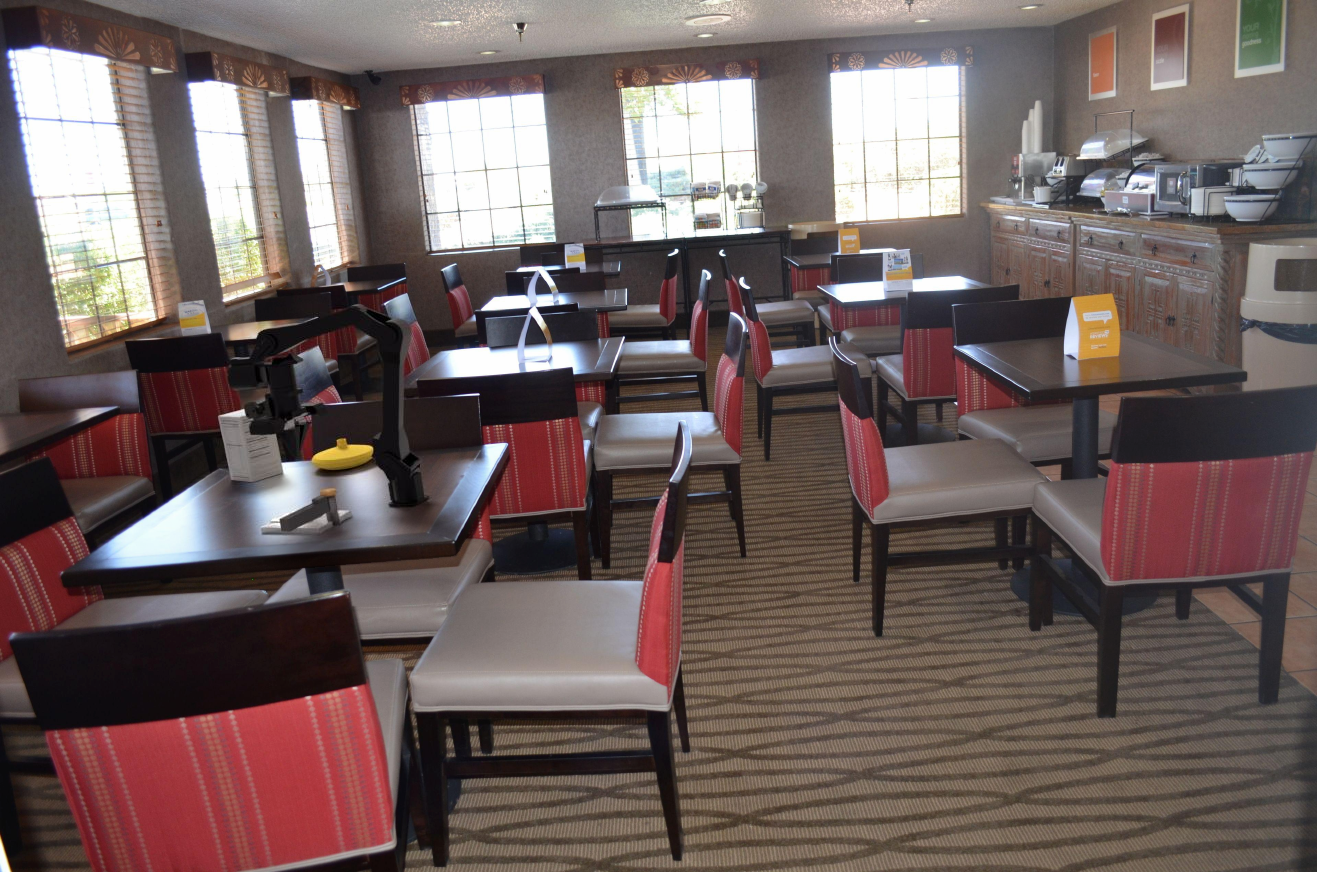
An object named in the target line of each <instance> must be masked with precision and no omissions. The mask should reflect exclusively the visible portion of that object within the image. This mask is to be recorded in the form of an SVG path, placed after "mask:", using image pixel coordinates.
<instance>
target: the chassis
mask: <svg viewBox="0 0 1317 872" xmlns="http://www.w3.org/2000/svg"><path fill="white" fill-rule="evenodd" d="M327 500H328V504H329V510H330V512H328V513H326V514H324V515H322V516H320V517H318V518H316V519H314V520H312V521H310V522H308V523H306V524H304V525H302V526H300V527H298V528H296V529H294V530H292V531H290V532H284V531H281V526H280V521H279V519H280V518H282V517H284V516H286V515H289V514H291V513H293V512H295V511H297V510H298V509H294V510H291V512H288V513H287V512H286V513H283V514H281V515H279V516H277V517H275V518H273V519H272V520H269V522H268V523H266V524H264V525H262V526H260V531H261V534H292V535H293V534H296V535H297V534H302V535H303V534H304V535H305V534H307V535H310V534H311V535H321V534H322V533H324V532H326V531H328V530H330V529H331V528H333V527H337V526H339V525H341V522H343V521H345V520H347V519H349V518H351V517H352V516H353V515H352V510H342V509H340V510H339V509H338V503H337V498H336V494H335V495H333V496H329V497H327Z"/></svg>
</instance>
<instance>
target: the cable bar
mask: <svg viewBox="0 0 1317 872" xmlns="http://www.w3.org/2000/svg"><path fill="white" fill-rule="evenodd" d="M319 494H320V495H318V496H316V497H314V498H312V499H311V503H310V504H307V505H305V506H303V507H301V508H299V509H296V510H297V511H295V512H293V513H291V514H289V515H286V516H284V517H282V518H280V519H279V521H280V526H281V531H284V532H290V531H292V530H294V529H296V528H298V527H300V526H302V525H304V524H306V523H308V522H310V521H312V520H314V519H316V518H318V517H320V516H322V515H324V514H326V513H328V512H330V510H329V504H328V500H327V497H329V496H333V495H335V496H336V495H337V494H338V491H337V488H334V487H333V488H332V487H331V488H326V489H325V488H324V489H322V490H320V491H319Z"/></svg>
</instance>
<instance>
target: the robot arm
mask: <svg viewBox="0 0 1317 872" xmlns="http://www.w3.org/2000/svg"><path fill="white" fill-rule="evenodd" d="M351 326H353V327H356V328H357V329H359V330H360V331H362V333H364V334H365V335H367V336H368V337H370V338H372V339H374V340H375V342H376V346H377V352H378V354H379V357H380V361H381V362H382V391H381V392H382V396H381V397H382V399H381V400H382V401H381V403H382V404H381V409H382V410H381V411H382V416H381V417H382V419H381V431H380V432H379V433H377V434H376V435H375V436H374V437H372V439H371V443H372V447H373V454H372V456H371V457H373V458H374V464H375V466H377V467H378V469H380V471H383V474H384V475H385V477H386V478H387V481H388V483H387V485H388V492H389V499H390V501H391V502H388V506H390V507H395V506H396V507H399V506H401V507H413V506H414V507H415V506H417V505H418V504H420V503H422V502H423V501H425V500H426V499H428V498H429V497H430V495H429V494H425V490H424V484H423V478H422V477H423V476H422V472H421V471H418V470H420V469H421V467H422V461H423V460H422V459H421V457H420V456H417V455H416V454H415V453H414V452H412V451H411V450H410V446H409V437H408V436H407V433H406V430H405V427H404V408H405V407H404V402H405V401H404V400H405V362H406V358H407V355H408V353H409V350H410V345H411V341H412V336H413V335H412V333H413V332H412V327H411V325H410V324H409V323H408V322H407V321H406V320H404V319H402V318H396V317H395V318H392V317H390V316H389V315H386V314H384V313H381V312H379V311H376V310H373V309H372V308H369V307H367V306H365V305H364V304H360V303H357V304H354V305H350V306H348V307H346V308H344V309H342V310H338V311H335V312H332V313H328V314H326V315H323V316H320V317H315V318H313V319H310V320H307V321H303V322H297V323H287V324H281V325H279V324H278V325H274V326H272V327H267V328H265V329H262V330H259V332H257V335H256V338H255V344H256V345H255V346H254V349H253V351H252V353H251V354H250V356H249V357H238V356H237V357H232V358H229V360H228V362H229V366H228V369H227V376H226V379H227V383H228V384H229V385H228V386H229V387H230V388H231V389H232V390H233V391H240V390H241V391H243V390H252V389H263V387H264V386H265V384H266V383H267V386H268V387H267V388H268V390H269V391H268V392H266V393H265V395H264V400H263V401H262V402H259V403H257V402H256V401H253V400H252V401H249V402H246V404H243V406H244V407H243V408H244V410H245V414H246V417H247V418H249V419H251V418H253V420H254V421H251V423H250V424H249V431H250V435H272V434H276V436H279V438H280V439H281V440H282V441H283V443H284V445H285V446H286V449H287V450H288V452H289V453H290V455H291V456H292V457H293V458H295V459H296V458H297V459H298V458H299V457H300V456H301V452H302V450H303V446H304V443H305V439H306V436H307V434H308V431H309V428H310V426H311V425H312V424H313V422H312V421H307V419H306V417H309V416H316V417H317V418H322V417H325V416H326V415H328V411H327V406H326V405H325V404H324V403H323V402H304V403H302V402H301V398H300V397H301V396H300V395H301V394H304V390H303V388H302V387H299V386H298V380H297V373H296V370H295V365H297V364H301V363H302V362H304V358H303V357H301V356H299V355H298V354H296V353H295V352H294V351H292V352H290V353H288V355H287V356H286V355H285V356H278V355H281V354H283V353H286V352H288V351H290V350H292V349H294V348H295V347H297V346H299V345H301V344H302V343H304V342H306V341H309V340H310V339H313V338H317V337H319V336H322V335H326V334H329V333H332V332H336V331H338V330H342V329H344V328H348V327H351ZM276 356H277V357H276ZM271 358H273V359H272V361H270V362H268V361H267V360H270V359H271ZM265 361H267V362H265ZM272 417H273V418H272Z"/></svg>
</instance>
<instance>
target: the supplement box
mask: <svg viewBox="0 0 1317 872" xmlns="http://www.w3.org/2000/svg"><path fill="white" fill-rule="evenodd" d="M272 418H273V417H272ZM217 419H218V422H219V427H220V432H221V436H222V438H221V439H222V442H223V445H224V446H223V447H224V452H225V456H226V460H227V465H228V470H229V477H230V480H231V481H238V482H239V481H240V482H250V483H255V482H258V481H261V480H263V479H267V478H269V477H273V476H277V475H280V474H283V473H284V469H283V464H282V463H283V462H282V458H281V454H280V448H279V444H278V443H279V442H278V439H277V434H272V435H250V431H249V424H250V423H251V421H254V420H253V418H251V419H249V418H247V417H246V414H245V410H244V409H240V410H236V411H231V412H229V413H225V414H220V415H218V416H217Z"/></svg>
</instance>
